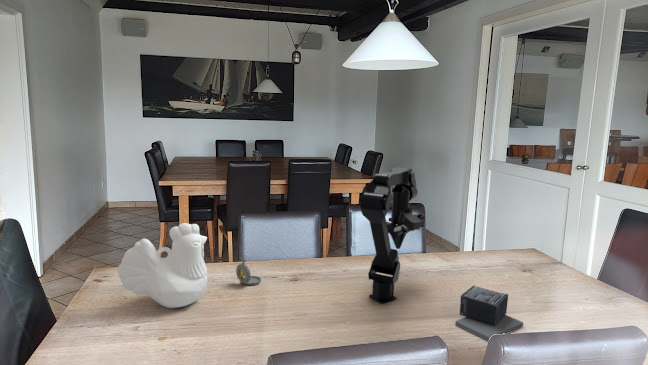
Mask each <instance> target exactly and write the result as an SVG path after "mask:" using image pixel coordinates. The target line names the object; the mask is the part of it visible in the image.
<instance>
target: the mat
mask: <svg viewBox="0 0 648 365" xmlns="http://www.w3.org/2000/svg"><path fill="white" fill-rule="evenodd" d="M454 325H455V326H456V327H458V328H461V329H462V330H464V331H466V332H469V333H470V334H472V335H474V336H477V337H478V338H480V339H482V340H485V341H486V342H488V340H489V338H490V337H491V336H492V335H494V334H503V333H508V332H510V333H512V332H514V331H515V330H518V329H520V328H522V327H524V322H523V321H521V320H518V319H516V318H514V317H511V316H510V315H507V314H505V315H504V316H503V318H502V319H501V320H500V321H499V322H498V323H497V324H496V325H495V326H494V325H492V324H488V323H485V322H482V321H479V320H475V319H472V318H469V317H465V316H464V317H462V318H460V319H457V320H456V321H455V324H454ZM511 331H512V332H511ZM508 334H509V333H508Z"/></svg>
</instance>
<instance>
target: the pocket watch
mask: <svg viewBox="0 0 648 365" xmlns="http://www.w3.org/2000/svg"><path fill="white" fill-rule="evenodd" d="M240 260H241V262H242V263H239V264H238V265H237V267H236V268H235V273H236V274H235V275H236V277H237V279H238V280H239V282H241V284H243V285H246V286H252V285H258V284H260V283H261V281H262V279H261V277H260V276H256V275H252V274H251V270H250V268H249V266H248V265H247V264H246V263H245V262H246V261H247V260H246V258H244V257H243V256H241V257H240Z"/></svg>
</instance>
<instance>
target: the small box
mask: <svg viewBox="0 0 648 365" xmlns="http://www.w3.org/2000/svg"><path fill="white" fill-rule="evenodd" d="M508 301H509V294H508V293H502V292H499V291H495V290H491V289H489V288H488V289H487V288H484V287H480V286H476V285H472V286H471V287H470V288H469V289H467V290H466V291H465V292H463V293H462V294H461V295H460V303H459V304H460V305H459V315H460V316H462V317H464V318H465V317H469V318H472V319H475V320H479V321H482V322H485V323H488V324H492V325H494V326H495V325H496V324H497V323H498V322H499V321H500V320H501V319H502V318H503V316H504V315H507V308H508Z"/></svg>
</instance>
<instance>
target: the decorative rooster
mask: <svg viewBox="0 0 648 365" xmlns="http://www.w3.org/2000/svg"><path fill="white" fill-rule="evenodd" d="M168 234H169V236H170V238H171V240H172V243H171V248H169V247H166V246H161V247H159V248H158V249H157V248H156V247H155V246H154V244H153V243H152V242H151V241H150V240H149V239H147V238H141V239H140V240H139V241H136V242H135V243H134V245H133V247H130V248H129V249H127V251H125V252H124V255H123V257H122V259H121V262H120V264H119V265H118V267H117V269H116V270H117V273H118V278H119V279H120V281H121V284H122V286H123V288H124V289H125V290H128V291H132V293H133V294H135V295H145V294H146V295H147V296H148V297H150V299H152V300H153V301H155V302H156V303H158V304H159V305H161V306H162V307H165V308H167V309H176V308H181V307H186V306H189V305H191V304H193V303H195V302H196V301H197V300H198V299H200V298H201V296H202V295H203V294H204V292H206V291H205V290H206V288H207V285H208V279H209V278H208V268H207V264H206V263H205V260H204V258H205V252H204V249H205V245H204V244H206V241H207V239H208V237H207V236H205V235H201V234H200V226H199V225H198V224H197V223H192V224H190V223H189V222H188V223H187V222H183V223H180V224H178V226H173V227H171V228H170V230H169V233H168ZM163 252H166V253H167V256H165V257H162V256H161V253H163Z"/></svg>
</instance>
